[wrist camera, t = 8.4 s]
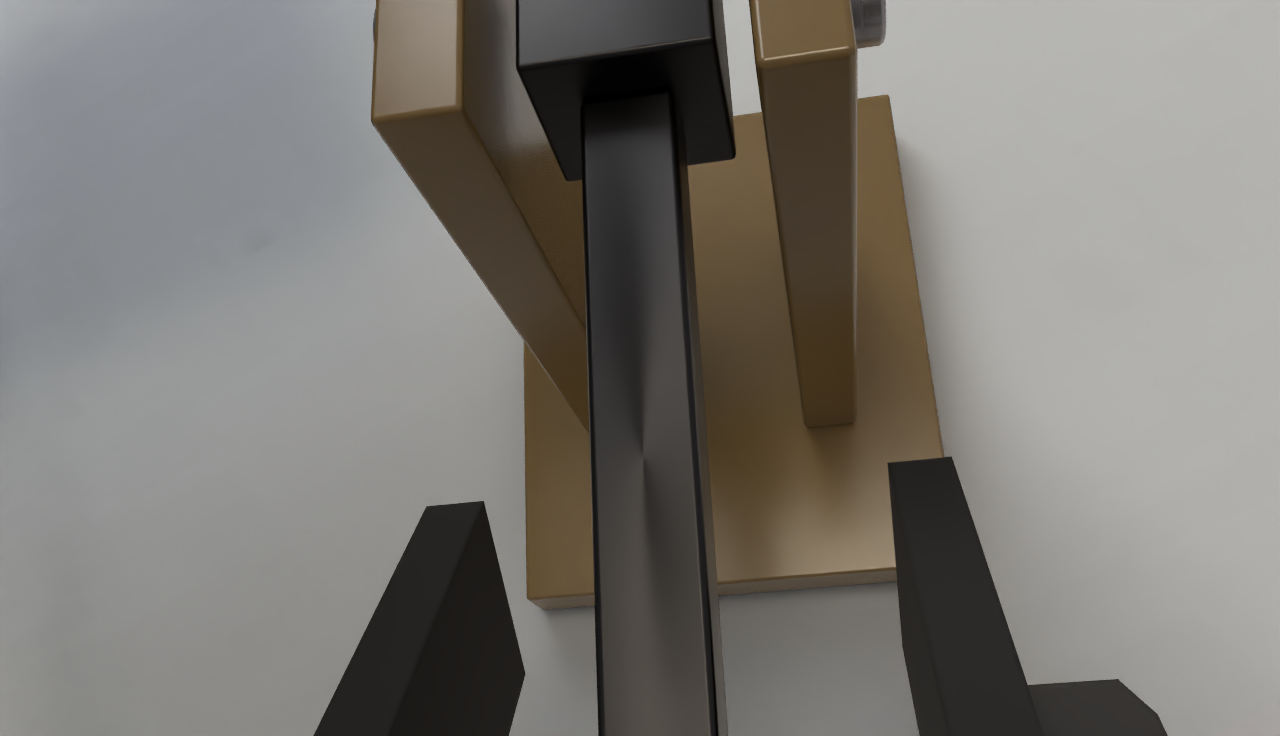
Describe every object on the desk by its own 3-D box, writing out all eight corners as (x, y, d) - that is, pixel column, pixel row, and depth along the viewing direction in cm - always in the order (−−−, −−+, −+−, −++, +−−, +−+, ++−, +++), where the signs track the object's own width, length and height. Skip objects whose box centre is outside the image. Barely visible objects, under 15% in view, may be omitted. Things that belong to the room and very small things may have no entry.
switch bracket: (955, 577, 22) (1073, 294, 10) (541, 610, 23) (207, 391, 11) (887, 124, 25) (915, -472, 14) (534, 172, 27) (278, -340, 15)
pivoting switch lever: (967, 1005, 11) (996, 1047, 8) (445, 1021, 11) (346, 1063, 9) (826, -34, 15) (820, -180, 13) (462, 23, 16) (400, -106, 14)
